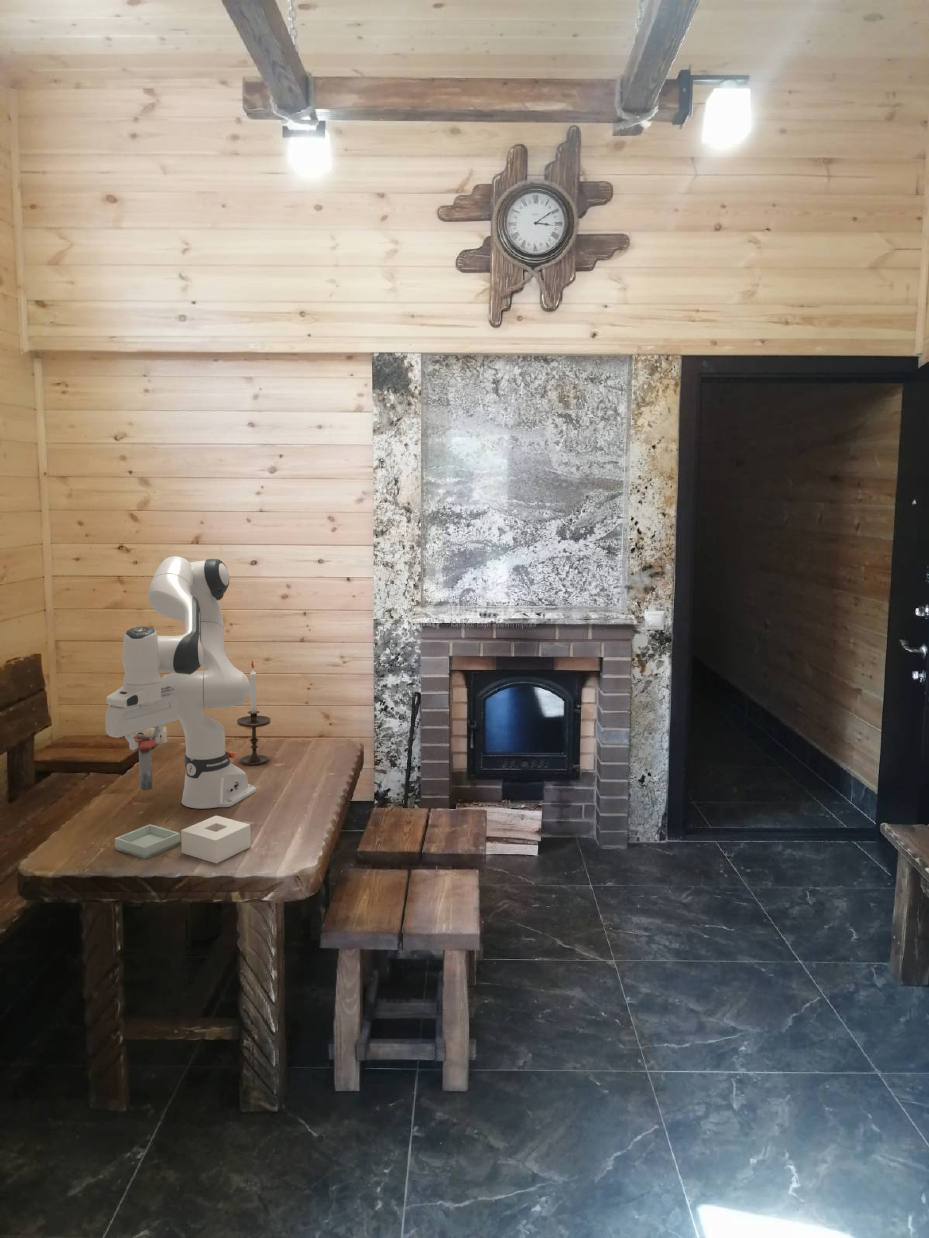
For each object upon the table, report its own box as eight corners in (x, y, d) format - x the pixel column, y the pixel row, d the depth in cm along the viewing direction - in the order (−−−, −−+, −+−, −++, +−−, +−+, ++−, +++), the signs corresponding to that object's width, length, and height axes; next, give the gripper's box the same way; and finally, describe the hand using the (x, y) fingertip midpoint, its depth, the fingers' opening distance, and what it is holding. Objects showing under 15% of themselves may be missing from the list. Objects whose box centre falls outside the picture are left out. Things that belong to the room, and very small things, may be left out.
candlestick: (260, 768, 292) (259, 663, 286) (231, 764, 295) (229, 661, 289) (276, 758, 302) (275, 657, 297) (248, 755, 305) (246, 655, 300)
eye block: (216, 836, 235) (216, 815, 234) (250, 846, 229) (250, 824, 228) (181, 852, 225) (181, 830, 224) (216, 863, 219) (215, 840, 218)
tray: (150, 834, 236) (150, 824, 235) (180, 844, 230) (180, 833, 230) (115, 849, 226) (114, 838, 226) (145, 859, 221) (145, 847, 220)
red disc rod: (161, 787, 227) (159, 734, 225) (145, 793, 222) (143, 739, 220) (147, 783, 229) (145, 731, 227) (131, 789, 225) (128, 736, 223)
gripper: (166, 683, 232) (168, 734, 234) (100, 698, 215) (102, 754, 217) (183, 686, 229) (185, 738, 231) (117, 702, 212) (120, 758, 214)
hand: (144, 745), depth 224 cm, fingers closed on red disc rod, 5 cm apart
